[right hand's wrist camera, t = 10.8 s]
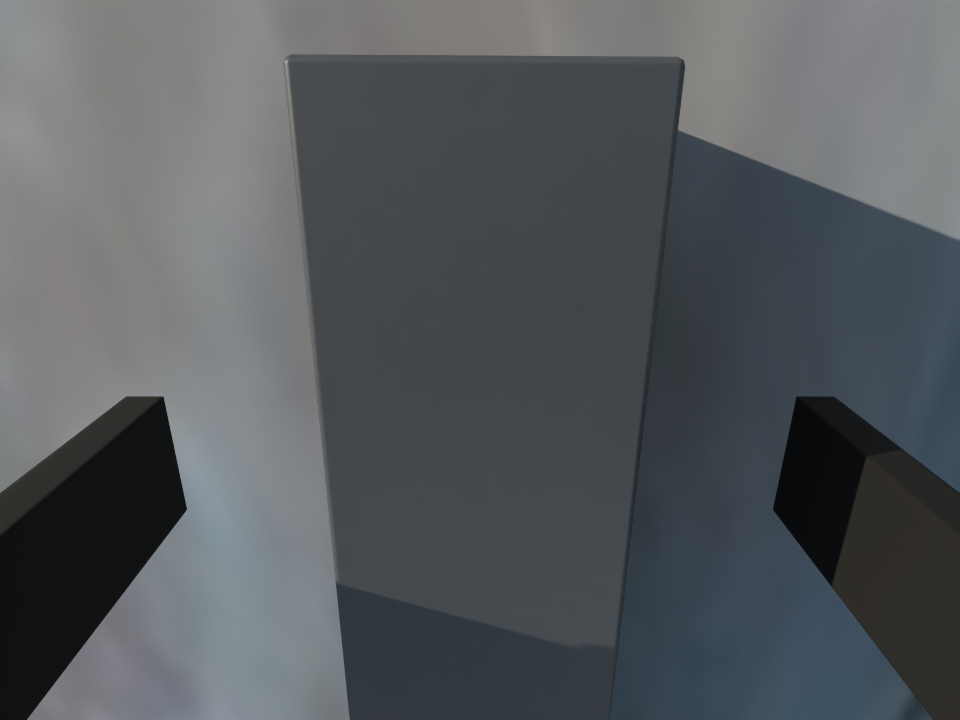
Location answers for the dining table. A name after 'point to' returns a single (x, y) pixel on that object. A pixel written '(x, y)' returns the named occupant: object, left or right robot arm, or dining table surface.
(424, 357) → the plank
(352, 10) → the dining table surface
